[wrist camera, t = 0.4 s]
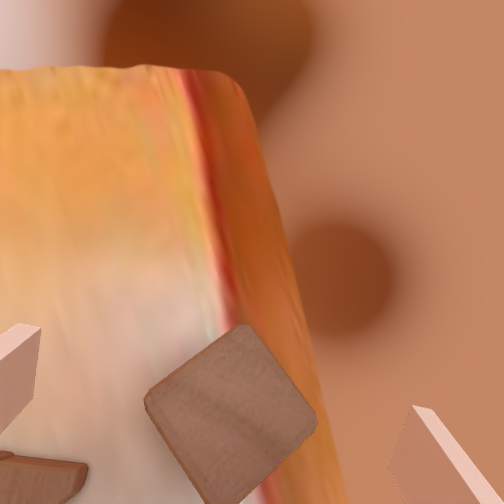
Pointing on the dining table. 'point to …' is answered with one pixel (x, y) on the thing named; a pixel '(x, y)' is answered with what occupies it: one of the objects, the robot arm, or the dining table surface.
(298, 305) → the dining table surface
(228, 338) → the block
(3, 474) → the wooden block set
